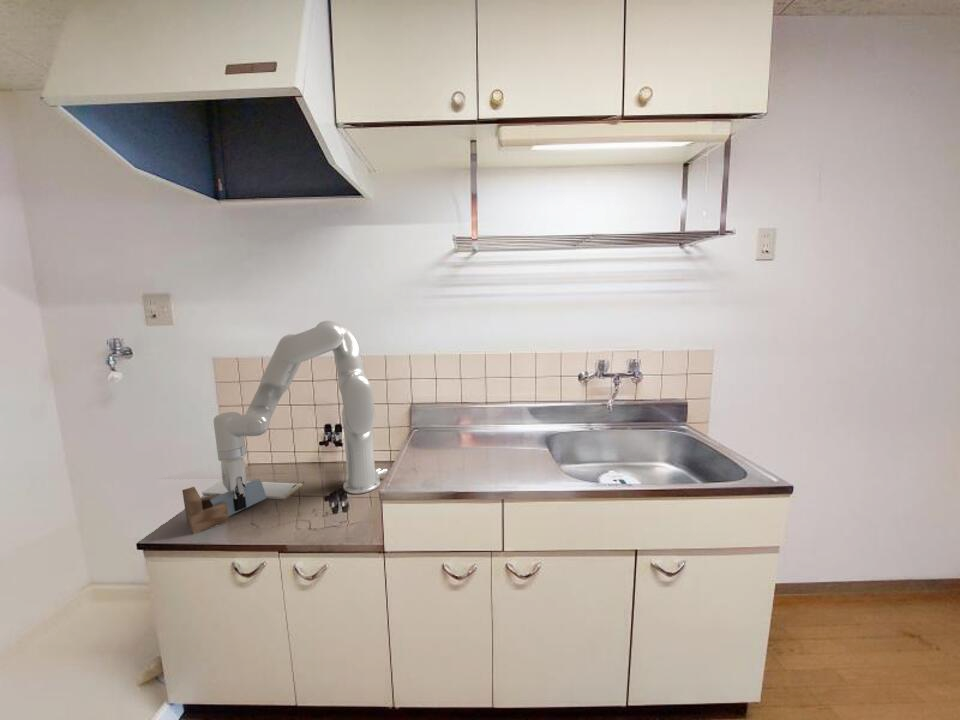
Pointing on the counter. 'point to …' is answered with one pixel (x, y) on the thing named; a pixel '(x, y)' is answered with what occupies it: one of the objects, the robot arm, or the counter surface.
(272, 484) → the baseboard molding
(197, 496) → the walnut end cap
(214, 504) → the slate slat
